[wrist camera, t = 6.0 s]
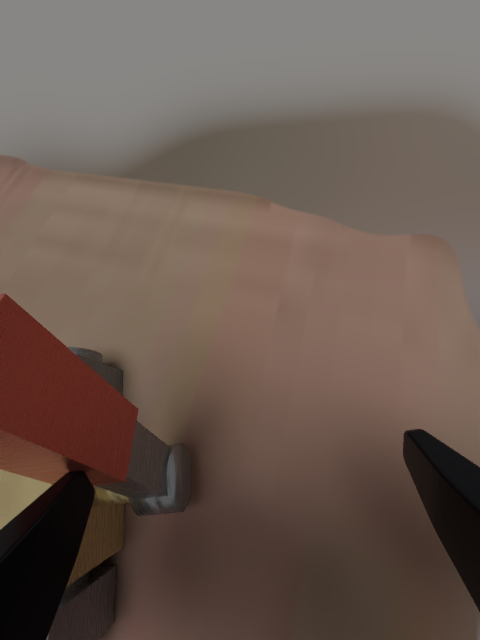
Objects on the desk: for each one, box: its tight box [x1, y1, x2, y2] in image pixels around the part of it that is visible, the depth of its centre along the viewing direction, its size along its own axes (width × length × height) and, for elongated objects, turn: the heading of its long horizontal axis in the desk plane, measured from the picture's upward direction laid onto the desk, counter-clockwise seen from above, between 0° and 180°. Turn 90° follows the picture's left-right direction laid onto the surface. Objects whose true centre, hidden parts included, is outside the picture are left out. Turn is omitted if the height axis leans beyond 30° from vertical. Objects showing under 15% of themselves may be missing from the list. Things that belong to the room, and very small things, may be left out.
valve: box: [0, 347, 131, 640], centre depth 15 cm, size 15×8×6 cm, turn 7°
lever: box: [0, 294, 192, 516], centre depth 11 cm, size 3×2×14 cm
